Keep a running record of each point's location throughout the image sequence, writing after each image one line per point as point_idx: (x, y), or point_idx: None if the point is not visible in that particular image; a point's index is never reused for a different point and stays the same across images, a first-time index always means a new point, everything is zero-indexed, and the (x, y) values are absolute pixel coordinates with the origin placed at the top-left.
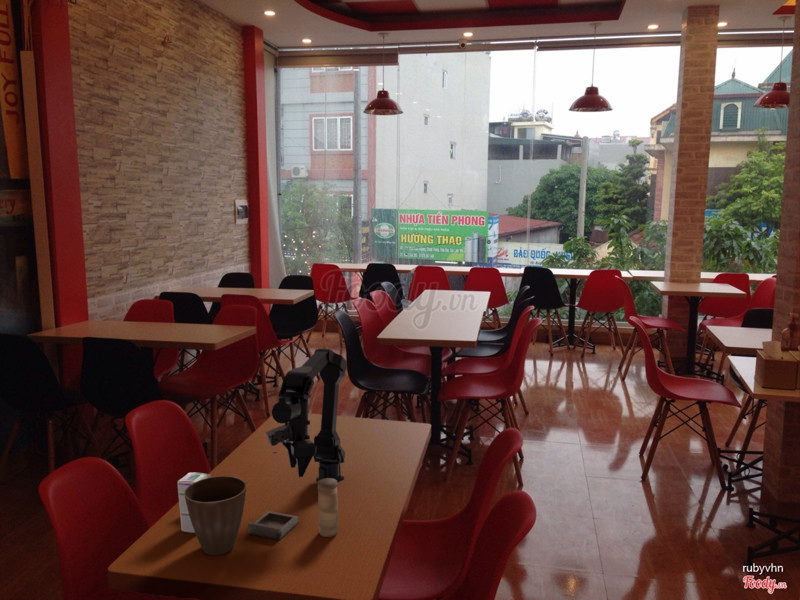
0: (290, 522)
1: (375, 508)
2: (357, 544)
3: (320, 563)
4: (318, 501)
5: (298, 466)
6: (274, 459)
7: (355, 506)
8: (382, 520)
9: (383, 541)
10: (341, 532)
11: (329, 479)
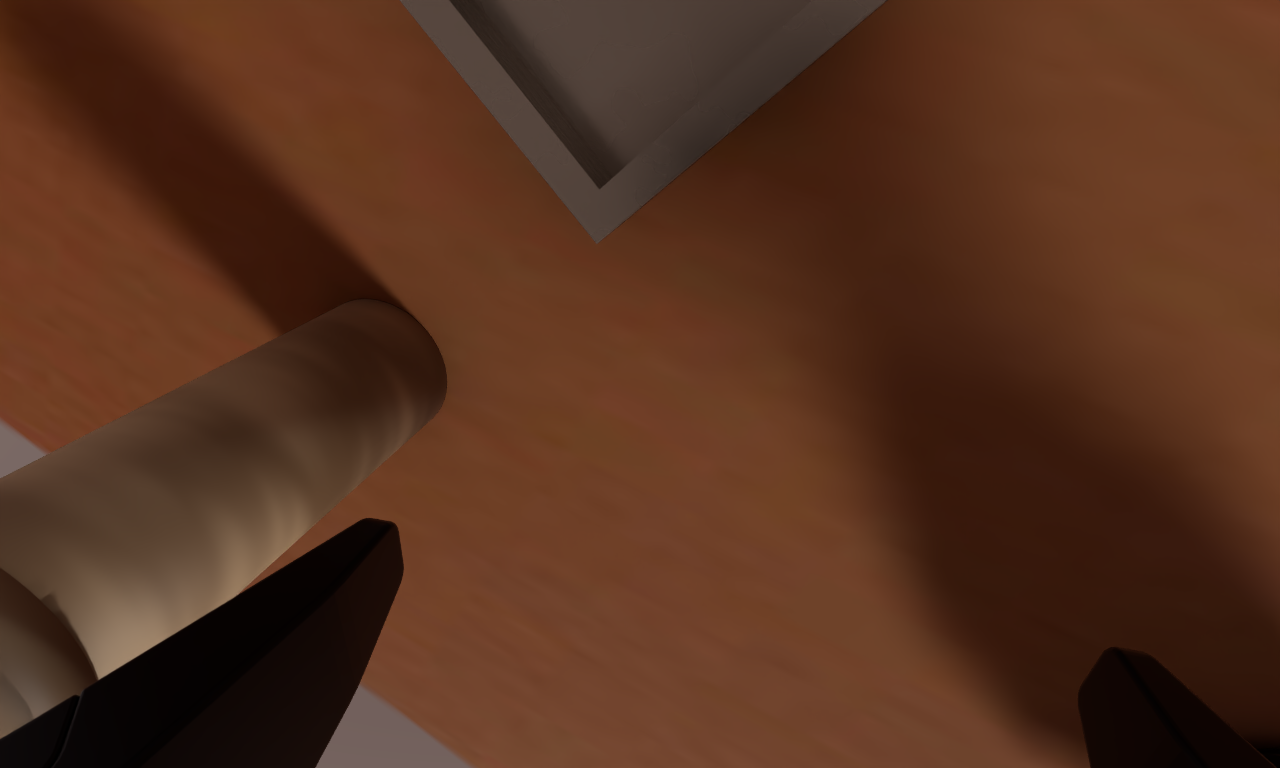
0: (508, 124)
1: (563, 726)
2: None
3: (25, 136)
4: (150, 431)
5: (87, 696)
6: None
7: (652, 671)
8: (411, 669)
9: None
10: None
11: None
